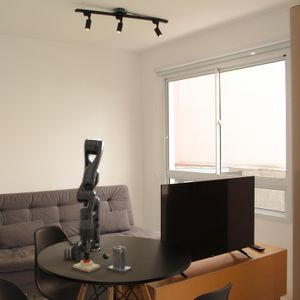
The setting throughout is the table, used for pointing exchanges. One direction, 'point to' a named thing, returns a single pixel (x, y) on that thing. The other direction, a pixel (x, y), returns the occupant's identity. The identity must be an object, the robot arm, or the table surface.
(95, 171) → the robot arm
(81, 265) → the button block
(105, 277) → the table surface
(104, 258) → the lever handle
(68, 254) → the camera
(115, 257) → the base
